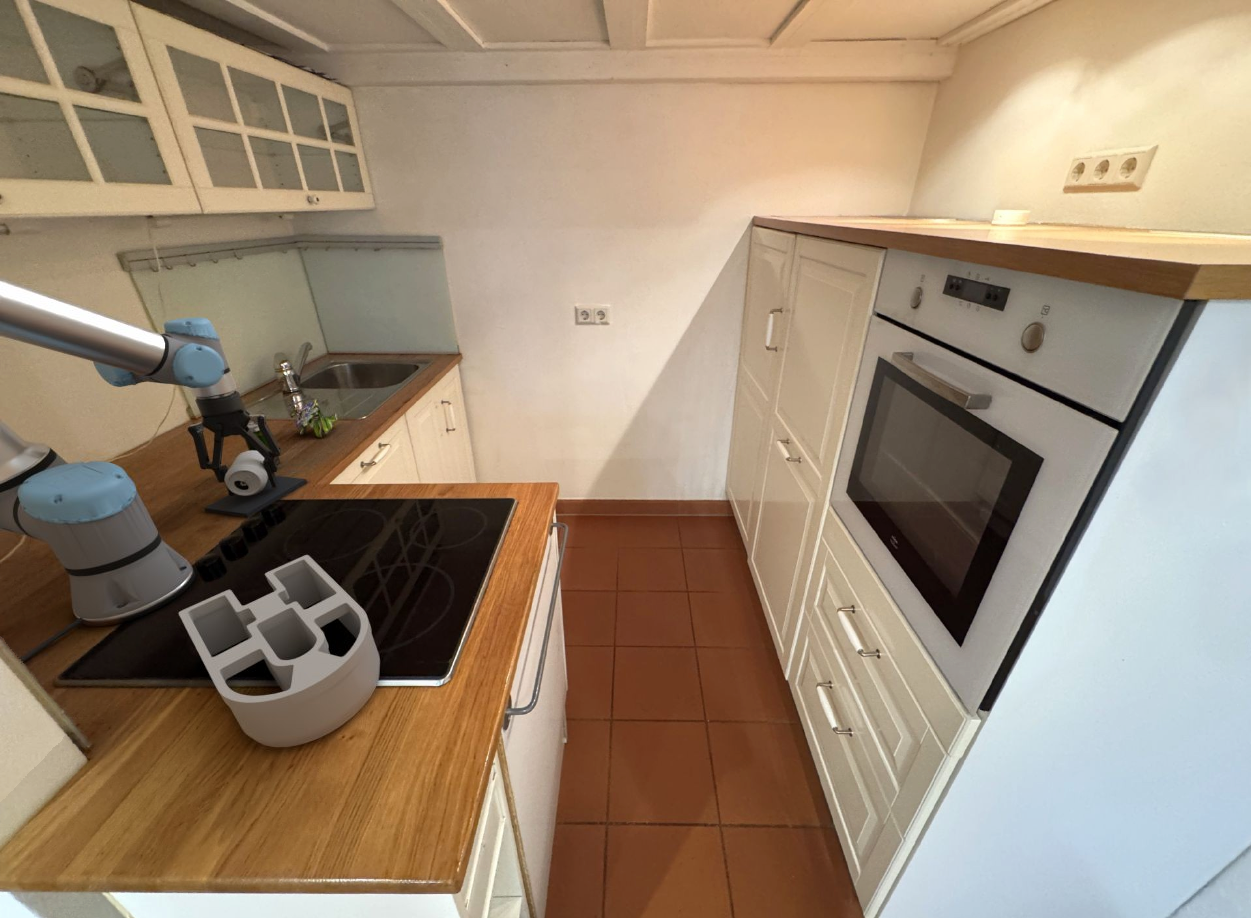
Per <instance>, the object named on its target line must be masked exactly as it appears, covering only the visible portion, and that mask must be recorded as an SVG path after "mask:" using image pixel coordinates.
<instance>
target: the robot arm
mask: <svg viewBox="0 0 1251 918" xmlns="http://www.w3.org/2000/svg"><path fill="white" fill-rule="evenodd" d="M163 328H164V333H158V332H156V331H154V330H151V329H148V328H145V327H142V326H140V325H136V324H134V323H131V322H127V321H126V320H122V319H120V318H117V317H114V316H110V315H108V314H105V313H102V312H100V311H98V310H97V311H96V310H94V309H91V308H88V307H85V306H82V305H79V304H76V303H74V302H71V301H69V300H65V299H62V298H59V297H57V296H53V295H51V294H48V293H45V292H42V291H40V290H37V289H35V288H31V287H28V286H25V285H22V284H19V283H17V282H15V281H14V282H13V281H11V280H9V279H6V278H2V277H0V337H3V338H6V339H10V340H12V341H13V340H14V341H16V342H21V343H25V344H28V345H32V346H36V347H38V348H43V349H45V350H49V351H53V352H57V353H62V354H65V355H68V356H72V357H75V358H79V359H83V360H87V361H91V362H92V363H93V366H94V368H95V370H96V371H97V373H98V375H99V376H100V377H101V378H102V379H103V380H104V381H105V382H106V383H108V385H111V386H113V387H117V388H123V387H128V386H137V385H139V384H142V383H147V382H148V383H155V384H164V385H173V386H182V387H187V388H189V389H190V391H191V394H192V396H193V397H195V404H196V406H197V409H198V411H199V413H200V415H201V418H202V420H201V421H200V422H198V423H194V422H191V424H190V425H189V426H188V427H187V432H188V433H189V434H190V435H191V437H192V438H193V442H194V447H195V451H196V455H197V459H198V464H199V468H200V469H201V470H204V471H205V470H211V471H213V473H214V474H215V477H216V480H217V482H218V483H220V484H221V483H224V484H225V480H224V479H225V475H226V473H227V471H228V470H229V468H228V466H227V465H226V464H224V465H223V463H222V459H223V450H224V441H225V438H228V437H230V436H240V437H242V438H243V439H244V438H245V439H246V440H247V441H248V442H249V443H250V444H251V445H252V446H253V447H254V448H255V449H256V450H257V451H258V452H259V453H260V454H261V455H262V456H263V457H264V461H263V464H264V467H265V470H266V472H267V475H268V477H269V480H270V483H271V485H272V488H274V487H276V486H277V483H278V481H277V478H276V476H277V475H276V473H277V472H278V468H279V467H277V464H276V461H275V459H274V458H275V457H277V456H278V457H280V456H281V453H282V447H280V444H279V443H278V441H277V439H276V437H275V436H274V434H273V432H272V430H271V428H270V426H269V425H268V422H267V415H266V414H265V412H260V413H259V414H251V413H249V411H248V410H247V409H246V407H245V405H244V402H243V399H242V396H241V394H240V392H239V391H238V390H237V389H238V387H237V384H236V381H235V379H234V375H233V373H232V371H231V368H230V366H229V363H228V360H227V358H226V355H225V351H224V349H223V346H222V344H221V341H220V340H221V339H220V337H219V336H218V333H217V331H216V329H215V327H214V326H213V323H212V321H210V319H208V318H206V317H199V316H197V317H182V318H176V319H175V318H174V319H171V320H167V321H165V322H164V323H163ZM250 422H254V424H256V425H258V427H259V429H260V431H261V433H262V435H263V437H264V438H265V440H266V442H267V444H268V445H269V447H270V449H271V451H270V450H269V449H268V448H267V447H266V446H265V445H264V444H263V442H262V441H261V440H260V439H259V438H258V437H257V436H256V435H255V434H254V433H253V432H252V430H251V429H250V428H249V427H248V426H247V425H248V423H250ZM205 429H206V430H208V431H210V432H212V433H213V434H214V435H213V449H212V460H211V459H210V455H209V452H208V447H207V443H206V439H205V435H204V432H205ZM245 439H244V440H245ZM210 460H211V461H210ZM225 487H226V490H227V492H228V495H230V496H233V495H235V493H233V492H232V491H230V490H229V489H228V487H227V486H226V485H225ZM0 529H1V530H2V531H6V532H11V533H15V534H16V533H17V534H21V535H24V536H26V537H29V538H32V539H36V540H37V541H41V542H44V543H46V544H47V545H48V546H49V547H50V549H51V550H52V552H53V553H54V555H55V557H56V558H57V559H58V561H59V562H60V564H61V566H62V567H63V569H64V570H65V571H66V573H67V575H68V576H69V582H70V583H69V584H70V595H71V607H72V612H73V614H74V615H75V617H76V618H77V619H76V620H75V621H73V622H72V623H70V624H68V625H67V626H66V627H64V628H62V629H61V630H60V631H58V632H56V633H55V634H53V635H52V636H50V637H49V638H47V639H46V640H44V641H42V642H41V643H40V644H39V645H37V646H35V647H34V648H33V649H31V650H30V651H28V652H27V653H25V654H24V655H23V656H21V657H19V658H18V659H21V661H23V663H25V662H26V661H28V660H29V659H30V658H32V657H33V656H35V655H37V654H38V653H40V652H41V651H43V650H44V649H45V648H47V647H49V645H51V644H52V643H54V642H55V641H57V640H59V639H60V638H62V637H63V636H64V635H66V634H67V633H69V632H70V631H72V630H74V629H75V628H76V627H78V626H79V625H81V624H82V625H85V626H89V627H105V626H111V625H112V626H113V625H118V624H122V623H125V622H128V621H129V622H130V621H133V620H135V619H139V618H141V617H143V616H145V615H148V614H150V613H153V612H154V611H156V610H159V609H160V608H162V607H164V606H166V605H168V604H169V603H171V602H172V601H174V600H176V599H177V598H179V596H181V595H182V594H183V593H184V592H186V591H187V590H188V589H189V588H190V587H191V585H192V584H193V582H194V581H195V579H196V572H195V570H194V568H193V566H192V564H191V563H190V562H189V561H188V560H187V559H186V558H185V557H183V556H182V555H181V554H180V553H178V552H177V550H174V548H172V547H171V546H170V545H169V544H167V543H166V542H165V541H164V540H163V538H162V537H161V535H160V532H159V531H158V529H157V526H156V524H155V523H154V522H153V519H152V517H151V516H150V513H149V512H148V510H147V508H146V506H145V504H144V502H143V500H142V498H141V496H140V495H139V492H138V490H137V487H136V484H135V482H134V480H132V479H131V477H129V475H128V474H127V472H126V471H125V470H124V469H123V467H121V466H119V465H118V464H115V463H112V462H108V461H99V460H98V461H97V460H90V461H88V462H84V461H76V462H71V463H69V462H67V461H66V460H65V459H64V458H63V457H62V456H61V455H59V454H58V453H57V452H56V451H55V450H54V449H53V448H52V447H51V446H49V445H48V444H46V443H44V442H35V441H27V440H24V439H23V438H22V437H21V436H20V435H19V434H18V433H17V432H15V431H14V430H13V429H12V428H11V427H10V426H9V425H7V424H6V423H5V422H4V421H3V420H1V419H0Z"/></svg>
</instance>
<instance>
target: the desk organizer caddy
mask: <svg viewBox="0 0 1251 918" xmlns="http://www.w3.org/2000/svg"><path fill="white" fill-rule="evenodd" d="M264 577H265V578H266V580H267V582H268V584H269V586H270V587H271V588H272V592H270V593H268V594H266V595H264V596H262V597H260V598H257V599H256V600H254V601H252V602H249V603H247V604H245V605H242V604H241V602H240V601H239V600H238V598H237V596H236V595H235V594H234V592H233V590H231V589H227V590H225V591H222V592H220V593H218V594H216V595H214V596H211V597H209V598H207V599H205V600H202V601H200V602H198V603H195V604H194V605H191V606H189V607H186V608H184V609H182V610H180V611H179V612H178V616H179V617H180V619H181V621H182V623H183V625H184V627H185V629H186V631H187V634H188V635H189V638H190V639H191V641H192V643H193V645H194V646H195V650H196V651H197V652H198V654H199V656H200V659H201V661H202V662H203V664H204V666H205V669H206V670H207V672H208V674H209V677H210V678H211V680H212V682H213V684H214V686H215V688H216V690H217V691H218V693H219V695H220V697H221V699H222V700H223V701H224V703H225V704H226V705H227V706H228V707H229V709H230V710H231V712H232V714H233V716H234V717H235V720H236V721H237V723H238V725H239V726H240V728H241V730H242V731H243V733H244V734H245V735H247V736H248V737H249V738H251V739H252V740H254V741H255V742H257V743H259V744H261V745H263V746H267V747H271V748H290V747H295V746H296V747H297V746H300V745H304V744H307V743H310V742H312V741H315V740H316V741H317V739H321V738H323V737H325V736H326V735H329V734H330V733H332V732H335V730H337V729H339V728H341V726H343V725H344V724H346V723H347V722H348V721H349V720H351V719H352V718H353V717H354V716H355V715H357V714H358V713H359V711H360V710H361V709H363V707H364V706H365V705H366V704H367V702H368V701H369V700H370V698H371V697H372V695H373V694H374V692H375V690H376V688H377V686H378V681H379V680H380V679H379V678H380V667H381V659H380V653H379V651H378V648H377V645H376V643H375V639H374V636H373V633H372V627H371V623H370V620H369V618H368V615H367V613H366V611H365V610H364V608H362V606H360V604H359V603H357V602H356V600H355V599H353V598H352V596H350V595H349V594H348V593H347V592H346V590H345V589H343V588H342V586H340V585H339V584H338V583H337V582H336V581H335V580H334V579H333V578H332V577H331V576H330V575H329V574H328V573H327V572H326V571H325V570H324V569H323V568H322V567H321V566H320V565H319V564H318V563H317V562H316V561H315V560H314V559H313V558H312V557H311V556H310V555H309V554H305V555H303V556H301V557H298V558H296V559H293V560H291V561H289V562H287V563H285V564H283V565H280V566H278V567H276V568H274V569H271V570H269V571H267V572H265V573H264ZM310 606H311V607H310ZM308 607H309V608H308ZM336 619H338V620H339V622H340V623H341V624H342V625H343V626H344V627H345V628H346V629H347V630H348V631H349V632H350V633H351V635H352V636H353V637H354V638H355V639H356V640H355V642H354V643H353V645H352V646H351V647H350V649H349V650H348V651H347V652H346V653H345V654H344V655H343V656H338V655H334V654H331V652H330V650H329V643H328V641H327V638H326V636H325V632H324V631H323V630H322V629H321V628H323V627H324V626H326V625H327V624H329V623H332V622H333V621H335V620H336ZM242 641H243V642H242ZM236 644H237V645H236ZM234 645H235V646H234ZM232 646H233V647H232ZM226 649H227V650H226ZM224 650H225V651H224ZM222 651H223V652H222ZM220 652H221V653H220ZM218 653H219V654H218ZM262 660H264V663H265V665H266V666H267V669H268V671H269V673H270V674H271V676H272V677H273V679H274V680H275V682H276V683H277V685H278V686H279V688H280V690H282V691H280V692H276V693H272V694H264V695H247V694H242V693H238V692H236V691H234V690H232V689H231V688H230V687H229V686H228V685H227V682H226V681H227V680H228V679H230V678H231V677H233V676H234V675H237V674H238V673H241V672H242V671H244V670H246V669H247V668H249V667H252V666H253V665H255V664H257V663H258V662H261V661H262Z"/></svg>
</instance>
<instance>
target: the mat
mask: <svg viewBox="0 0 1251 918" xmlns="http://www.w3.org/2000/svg"><path fill="white" fill-rule="evenodd" d="M275 476H276V478H277V481H278V483H277V486H276V487H274V488H272V485H271V483H270V480H269V478H268V481H267V483H266V485H265V487H264V488H263V490H261V491H260V492H259V493H257V494H254V495H248V496H242V495H237V494H235V495H233V496H230V495H229V494H227V495H225V496H223V497H221V498H220V499H218V500H216V501H213V502H212V503H210V504H208V505H206V506H204V507H203V509H204V512H206V513H212V514H220V515H227V516H235V517H243V518H249V517H251V516H253V515H255V514H256V513H258V512H260V511H261V510H263V509H265V508H267V507H268V506H270V505H272V504H274V503H275V502H278V500H280V499H282V498H284V497H286V496H287V495H289V494H290V493H292V492H294V491H295V490H297V489H299V488H300V487H302V486H304V485H305V484H307V483H308V481H307V479H306V478H299V477H292V476H282V475H275Z"/></svg>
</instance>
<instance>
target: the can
mask: <svg viewBox="0 0 1251 918" xmlns="http://www.w3.org/2000/svg"><path fill="white" fill-rule="evenodd" d="M263 461H264V457H263V456H262V455H261V454H260V453H259V452H258V451H255V450H251V451H249V450H246V451H243V452H241V453H239V454H238V455H237V456H236V457H235V459H234V460H233V462H232V464H231V465H230V467H229V468H228V471H227V473H226V475H225V479H224V480H225V483H224V486H225V487H226V486H227V487H228V489H229V490H230V491H232V492H233V493H235V494H237V495H242V496H248V495H254V494H257V493H259V492H260V491H261V490H263V488H264V487H265V485H266V483H267V481H268V478H269V477H268V475H267V472H266V470H265V467H264V464H263Z"/></svg>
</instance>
